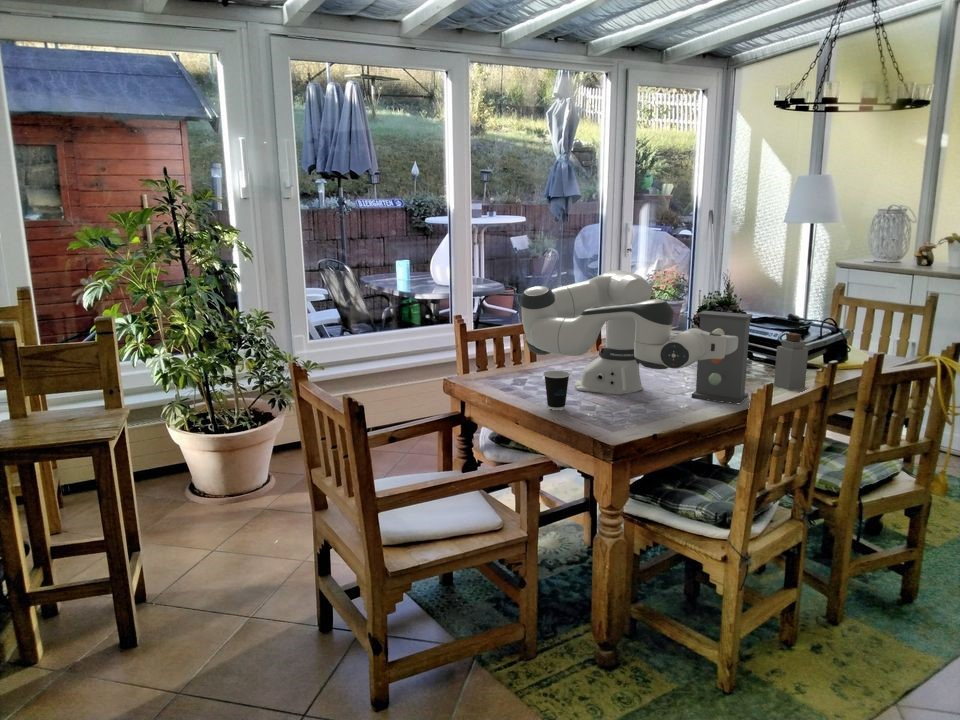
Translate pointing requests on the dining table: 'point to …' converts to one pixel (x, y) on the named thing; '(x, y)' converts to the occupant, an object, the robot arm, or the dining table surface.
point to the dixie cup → (556, 388)
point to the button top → (718, 331)
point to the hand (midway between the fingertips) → (708, 336)
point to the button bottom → (715, 378)
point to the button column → (724, 359)
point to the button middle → (716, 360)
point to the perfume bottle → (791, 363)
